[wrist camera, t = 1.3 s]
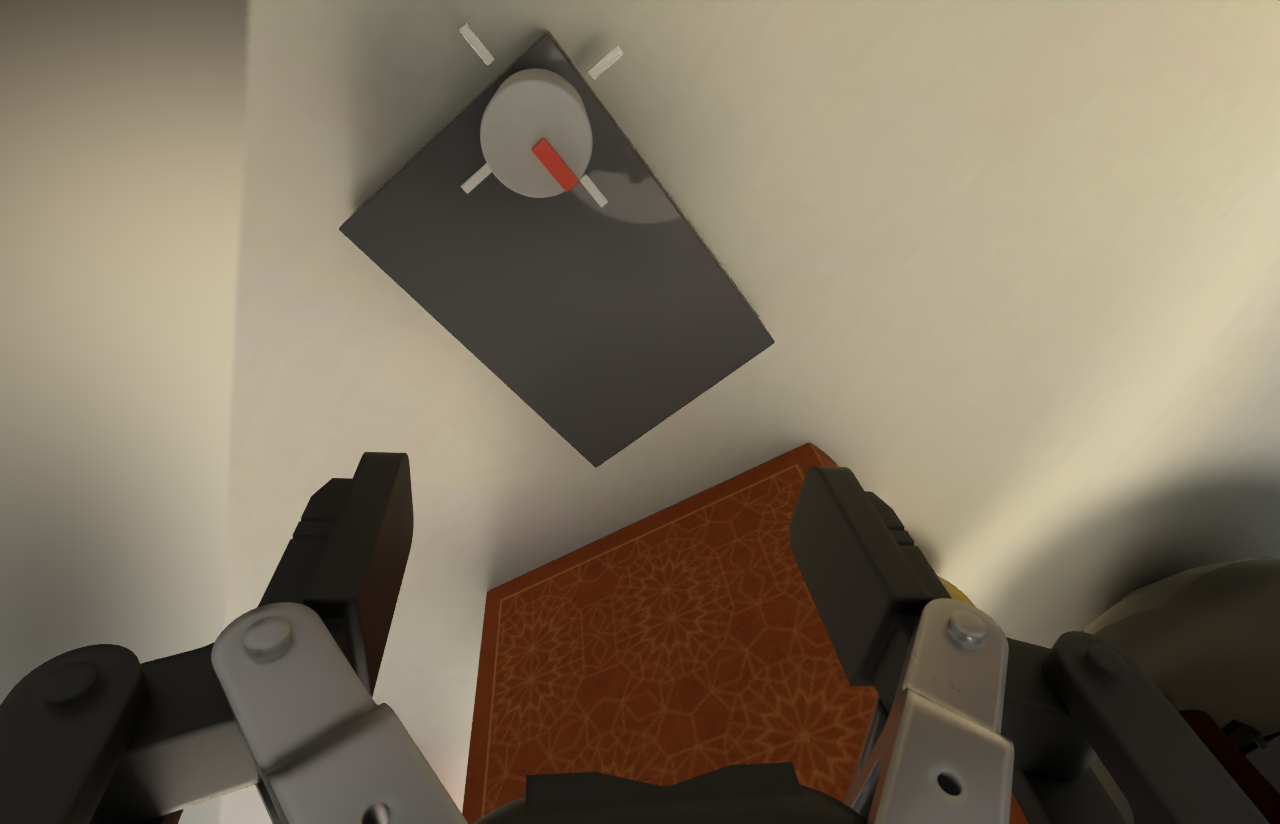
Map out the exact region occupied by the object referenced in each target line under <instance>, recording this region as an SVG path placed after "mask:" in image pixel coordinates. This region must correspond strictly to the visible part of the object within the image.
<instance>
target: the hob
mask: <svg viewBox="0 0 1280 824" xmlns="http://www.w3.org/2000/svg"><path fill="white" fill-rule="evenodd" d="M459 32H460V33H461V34H462V35H463V37H464V38H465V39H466V40H467V42H468V43H469V44H470V45H471V46H472V48H473V49H474V50H475V51H476V53H477V54H478V55H479V56H480V58H481V59H482V60H483V61H484V63H485V64H486V65H487V66H488V65H490V64H491V63H492V62H493V61H494V60H495V58H494V57H493V56H492V54H491V53H490V52H489V51H488V49H487V48H486V47H485V46H484V44H483V43H482V42H481V41H480V39H479V38H478V37H477V36H476V34H475V33H474V32H473V30H472V29H471V28H470V27H469V25H468V24H467V23H465V24H464V25H463V26H462V27H461V28H460V29H459ZM622 55H623V52H622V51H621V49H620V48H619V46H618V45H616V46H615V47H614V48H613V49H612V50H611V51H610V52H609V53H607V54H606V55H605V56H604V57H603V58H602V59H601V60H600V61H599V62H597V63H596V64H595V65H594V66H593V67H592V68H591V69H590V70H589V71H588V74H589V75H590V76H591V78H592V79H593V80H595V79H596V78H597V77H599V76H600V75H601V74H602V73H603V72H604V71H605V70H606V69H607V68H609V67H610V66H611V65H612V64H613V63H614V62H615V61H616V60H617V59H619V58H620V57H621V56H622ZM533 68H538V69H545V70H549V71H552V72H555V73H557V74H558V75H560V76H562V77H563V78H565V79H566V80H567V81H568V82H569V83H570V84H571V85H572V86H573V87H574V88H575V89H576V91H577V92H578V94H579V95H580V97H581V99H582V101H583V104H584V107H585V110H586V113H587V116H588V119H589V123H590V126H591V131H592V139H593V143H592V154H591V158H590V161H589V164H588V166H587V169H586V170H585V172H584V174H583V175H582V177H581V178H580V179H579V183H577V184H576V185H575V186H574V187H573V188H571V189H570V190H569V191H568V192H566V191H565V192H563V193H561V194H558V195H555V196H551V197H545V198H534V197H528V196H525V195H521V194H519V193H517V192H514V191H513V190H511V189H509V188H508V187H506V186H505V185H504V184H503V183H501V182H500V181H499V179H498V178H497V177H496V176H495V175H494V174H493V172H492V171H491V169H490V168H489V166H488V164H487V162H486V160H485V158H484V155H483V152H482V147H481V142H480V127H481V122H482V117H483V114H484V112H485V109H486V107H487V105H488V104H489V102H490V101H491V99H492V97H493V96H494V94H495V93H496V91H497V90H498V88H499V87H500V85H501V84H502V83H503V82H504V81H505V80H506V79H507V78H509V77H510V76H511V75H513V74H515V73H517V72H519V71H522V70H526V69H533ZM339 230H340V231H341V232H342V233H343V234H344V235H345V236H347V237H348V238H349V239H350V240H351V241H352V242H353V243H354V244H355V245H356V246H357V247H358V248H359V249H361V250H362V251H363V252H364V253H365V254H366V255H367V256H368V257H369V258H370V259H371V260H372V261H373V262H375V263H376V264H377V265H378V266H379V267H380V268H381V269H382V270H383V271H384V272H385V273H386V274H387V275H389V276H390V277H391V278H392V279H393V280H394V281H395V282H396V283H397V284H398V285H399V286H400V287H401V288H403V289H404V290H405V291H406V292H407V293H408V294H409V295H410V296H411V297H412V298H413V299H414V300H416V301H417V302H418V303H419V304H420V305H421V306H422V307H423V308H424V309H425V310H426V311H427V312H428V313H430V314H431V315H432V316H433V317H434V318H435V319H436V320H437V321H438V322H439V323H440V324H441V325H442V326H444V327H445V328H446V329H447V330H448V331H449V332H450V333H451V334H452V335H453V336H454V337H455V338H456V339H458V340H459V341H460V342H461V343H462V344H463V345H464V346H465V347H466V348H467V349H468V350H469V351H471V352H472V353H473V354H474V355H475V356H476V357H477V358H478V359H479V360H480V361H481V362H482V363H483V364H485V365H486V366H487V367H488V368H489V369H490V370H491V371H492V372H493V373H494V374H495V375H496V376H497V377H499V378H500V379H501V380H502V381H503V382H504V383H505V384H506V385H507V386H508V387H509V388H510V389H511V390H513V391H514V392H515V393H516V394H517V395H518V396H519V397H520V398H521V399H522V400H523V401H524V402H525V403H527V404H528V405H529V406H530V407H531V408H532V409H533V410H534V411H535V412H536V413H537V414H538V415H540V416H541V417H542V418H543V419H544V420H545V421H546V422H547V423H548V424H549V425H550V426H551V427H552V428H554V429H555V430H556V431H557V432H558V433H559V434H560V435H561V436H562V437H563V438H564V439H565V440H566V441H568V442H569V443H570V444H571V445H572V446H573V447H574V448H575V449H576V450H577V451H578V452H579V453H580V454H582V455H583V456H584V457H585V458H586V459H587V460H588V461H589V462H590V463H591V464H592V465H593V466H594V467H598V466H599V465H601V464H602V463H604V462H605V461H607V460H608V459H609V458H611V457H612V456H614V455H615V454H617V453H618V452H619V451H621V450H622V449H624V448H625V447H627V446H628V445H629V444H631V443H632V442H634V441H635V440H637V439H638V438H639V437H641V436H642V435H644V434H645V433H647V432H648V431H649V430H651V429H652V428H654V427H655V426H656V425H658V424H659V423H661V422H662V421H664V420H665V419H666V418H668V417H669V416H671V415H672V414H674V413H675V412H676V411H678V410H679V409H681V408H682V407H684V406H685V405H686V404H688V403H689V402H691V401H692V400H694V399H695V398H696V397H698V396H699V395H701V394H702V393H704V392H705V391H706V390H708V389H709V388H711V387H712V386H714V385H715V384H716V383H718V382H719V381H721V380H722V379H724V378H725V377H726V376H728V375H729V374H731V373H732V372H734V371H735V370H736V369H738V368H739V367H741V366H742V365H744V364H745V363H746V362H748V361H749V360H751V359H752V358H754V357H755V356H756V355H758V354H759V353H761V352H762V351H764V350H765V349H766V348H768V347H769V346H771V345H772V344H774V340H773V338H772V337H771V335H770V334H769V332H768V331H767V329H766V328H765V326H764V325H763V323H762V322H761V320H760V319H759V317H758V316H757V315H756V313H755V312H754V311H753V309H752V308H751V306H750V305H749V304H748V302H747V301H746V300H745V298H744V297H743V296H742V294H741V293H740V291H739V290H738V289H737V287H736V286H735V285H734V283H733V282H732V280H731V279H730V278H729V276H728V275H727V274H726V272H725V271H724V270H723V268H722V267H721V265H720V264H719V263H718V261H717V260H716V259H715V257H714V256H713V255H712V253H711V252H710V250H709V249H708V248H707V246H706V245H705V244H704V242H703V241H702V239H701V238H700V237H699V235H698V234H697V233H696V231H695V230H694V229H693V227H692V226H691V224H690V223H689V222H688V220H687V219H686V218H685V216H684V215H683V213H682V212H681V211H680V209H679V208H678V207H677V205H676V204H675V203H674V201H673V200H672V198H671V197H670V196H669V194H668V193H667V192H666V190H665V189H664V188H663V186H662V185H661V183H660V182H659V181H658V179H657V178H656V177H655V175H654V174H653V172H652V171H651V170H650V168H649V167H648V166H647V164H646V163H645V162H644V160H643V159H642V157H641V156H640V155H639V153H638V152H637V151H636V149H635V148H634V147H633V145H632V144H631V142H630V141H629V140H628V138H627V137H626V136H625V134H624V133H623V131H622V130H621V129H620V127H619V126H618V125H617V123H616V122H615V121H614V119H613V118H612V116H611V115H610V114H609V112H608V111H607V110H606V108H605V107H604V106H603V104H602V103H601V101H600V100H599V99H598V97H597V96H596V95H595V93H594V92H593V90H592V89H591V88H590V86H589V85H588V84H587V82H586V81H585V80H584V78H583V77H582V75H581V74H580V73H579V71H578V70H577V69H576V67H575V66H574V65H573V63H572V62H571V60H570V59H569V58H568V56H567V55H566V54H565V52H564V51H563V49H562V48H561V47H560V45H559V44H558V43H557V41H556V40H555V39H554V37H553V36H552V34H551V33H550V32H549V31H548V30H547V31H546V32H544V33H543V34H542V35H541V36H540V37H539V38H538V39H537V40H536V41H535V42H534V43H533V44H532V45H531V46H530V47H529V48H528V49H526V50H525V51H524V52H523V53H522V54H521V55H520V56H519V57H518V58H517V59H516V60H515V61H514V62H513V63H512V64H511V65H510V66H508V67H507V68H506V69H505V70H504V71H503V72H502V73H501V74H500V75H499V76H498V77H497V78H496V79H495V80H494V81H493V82H492V83H490V84H489V85H488V86H487V87H486V88H485V89H484V90H483V91H482V92H481V93H480V94H479V95H478V96H477V97H476V98H475V99H473V100H472V101H471V102H470V103H469V104H468V105H467V106H466V107H465V108H464V109H463V110H462V111H461V112H460V113H459V114H458V115H457V116H455V117H454V118H453V119H452V120H451V121H450V122H449V123H448V124H447V125H446V126H445V127H444V128H443V129H442V130H441V131H440V132H439V133H437V134H436V135H435V136H434V137H433V138H432V139H431V140H430V141H429V142H428V143H427V144H426V145H425V146H424V147H423V148H422V149H420V150H419V151H418V152H417V153H416V154H415V155H414V156H413V157H412V158H411V159H410V160H409V161H408V162H407V163H406V164H405V165H404V166H402V167H401V168H400V169H399V170H398V171H397V172H396V173H395V174H394V175H393V176H392V177H391V178H390V179H389V180H388V181H387V182H386V183H384V184H383V185H382V186H381V187H380V188H379V189H378V190H377V191H376V192H375V193H374V194H373V195H372V196H371V197H370V198H369V199H368V200H366V201H365V202H364V203H363V204H362V205H361V206H360V207H359V208H358V209H357V210H356V211H355V212H354V213H353V214H352V215H351V216H350V217H349V218H348V219H347V220H346V221H345V222H344V223H343V224H342V225H341V227H340V228H339Z"/></svg>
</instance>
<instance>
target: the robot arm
mask: <svg viewBox="0 0 1280 824" xmlns="http://www.w3.org/2000/svg"><path fill="white" fill-rule="evenodd" d="M413 522H414V519H413V504H412V492H411V479H410V467H409V459H408V455H407V454H406V453H384V452H365V453H364V454H363V455H362V458H361V460H360V462H359V465H358V467H357V470H356V472H355V474H354V477H353V479H345V478H332V479H331V480H330V481H329V482H328V483H326V484H325V485H324V486H323V487H322V488H321V489H319V490H318V491H317V492H316V493H315V494H314V495H312V496H311V498H310V500H309V503H308V505H307V507H306V509H305V511H304V513H303V515H302V517H301V522H299V523H298V525H297V527H296V529H295V531H294V533H293V539H291V540H290V542H289V544H288V546H287V548H286V550H285V552H284V554H283V556H282V558H281V560H280V562H279V564H278V566H277V568H276V571H275V573H274V575H273V577H272V579H271V581H270V583H269V585H268V587H267V589H266V591H265V593H264V595H263V597H262V599H261V601H260V604H259V605H258V607H257V608H256V609H253V610H251V611H249V612H247V613H245V614H243V615H241V616H240V617H238V618H237V619H235V620H234V621H233V622H232V623H230V624H229V625H228V626H227V627H226V628H225V629H224V630H223V631H222V632H221V634H220V635H219V636H218V638H217V640H216V642H214V643H212V644H210V645H207V646H205V647H202V648H198V649H195V650H192V651H188V652H184V653H180V654H176V655H173V656H168V657H165V658H161V659H157V660H153V661H149V662H145V663H142V664H140V663H139V660H138V658H137V656H136V655H135V654H134V653H133V652H132V651H130V650H129V649H127V648H125V647H122V646H119V645H111V644H99V645H91V646H86V647H82V648H78V649H75V650H71V651H68V652H66V653H63V654H61V655H59V656H56V657H55V658H53V659H51V660H49V661H47V662H45V663H43V664H42V665H40V666H39V667H37V668H36V669H34V670H33V671H31V672H30V673H29V674H28V675H26V676H25V677H24V678H23V679H22V680H21V681H20V682H19V683H18V684H17V685H16V686H15V687H14V688H13V689H12V690H11V692H10V693H9V694H8V696H7V697H6V698H5V700H4V701H3V703H2V704H1V705H0V824H178V822H179V819H180V817H181V814H182V812H183V809H184V808H187V807H189V806H193V805H196V804H198V803H201V802H204V801H207V800H210V799H213V798H216V797H219V796H222V795H225V794H227V793H230V792H233V791H236V790H239V789H242V788H245V787H248V786H251V785H253V784H255V785H256V787H257V789H258V792H259V794H260V796H261V798H262V801H263V803H264V805H265V807H266V810H267V812H268V814H269V816H270V819H271V821H272V823H273V824H468V823H467V821H466V819H465V818H464V816H463V815H462V813H461V812H460V810H459V809H458V807H457V806H456V804H455V803H454V801H453V800H452V798H451V797H450V795H449V794H448V792H447V791H446V789H445V788H444V786H443V785H442V783H441V782H440V780H439V779H438V777H437V775H436V774H435V772H434V771H433V769H432V768H431V766H430V765H429V763H428V762H427V760H426V759H425V757H424V756H423V754H422V753H421V751H420V750H419V748H418V747H417V745H416V744H415V742H414V741H413V739H412V738H411V736H410V735H409V733H408V731H407V730H406V728H405V727H404V725H403V724H402V722H401V721H400V719H399V718H398V716H397V715H396V714H395V712H394V711H393V710H392V709H391V708H390V707H389V706H388V705H387V704H386V703H382V704H380V705H379V706H378V705H377V704H376V703H375V702H374V701H373V699H372V696H373V692H374V688H375V684H376V681H377V677H378V673H379V669H380V665H381V661H382V657H383V653H384V649H385V646H386V642H387V638H388V634H389V630H390V626H391V622H392V618H393V615H394V611H395V607H396V603H397V599H398V595H399V591H400V587H401V584H402V580H403V576H404V572H405V568H406V564H407V560H408V556H409V552H410V548H411V544H412V537H413ZM789 540H790V547H791V550H792V553H793V555H794V558H795V560H796V562H797V564H798V567H799V569H800V571H801V574H802V576H803V578H804V580H805V583H806V585H807V587H808V590H809V592H810V594H811V596H812V599H813V601H814V603H815V606H816V608H817V610H818V613H819V615H820V617H821V619H822V622H823V624H824V626H825V629H826V631H827V633H828V635H829V638H830V640H831V642H832V645H833V647H834V649H835V651H836V654H837V656H838V658H839V661H840V663H841V665H842V667H843V670H844V672H845V674H846V677H847V679H848V681H849V683H850V686H851V687H852V686H875V688H876V690H877V693H878V695H879V697H878V699H877V701H876V703H875V705H874V707H873V711H872V714H871V717H870V721H869V724H868V727H867V730H866V734H865V737H864V740H863V744H862V747H861V750H860V754H859V757H858V760H857V763H856V767H855V770H854V773H853V777H852V780H851V783H850V786H849V789H848V792H847V794H846V797H845V799H844V802H843V803H842V802H841V801H839V800H838V799H836V798H834V797H832V796H830V795H828V794H826V793H823V792H821V791H819V790H816V789H813V788H810V787H807V786H804V785H800V784H799V782H798V779H797V775H796V772H795V769H794V766H793V763H792V762H782V763H761V764H741V765H729V766H726V767H723V768H720V769H717V770H714V771H712V772H709V773H706V774H703V775H700V776H697V777H694V778H692V779H689V780H686V781H683V782H680V783H677V784H674V785H670V786H659V785H654V784H650V783H645V782H640V781H636V780H631V779H627V778H622V777H617V776H613V775H608V774H604V773H599V772H578V773H558V774H537V775H526V791H525V797H523V798H520V799H517V800H514V801H512V802H509V803H507V804H505V805H503V806H501V807H499V808H497V809H495V810H493V811H491V812H490V813H488V814H487V815H485V816H483V817H482V818H480V819H479V820H477V821H476V822H475V823H474V824H1009V818H1010V804H1011V791H1012V793H1013V795H1014V797H1015V799H1016V801H1017V802H1018V804H1019V806H1020V808H1021V810H1022V812H1023V814H1024V816H1025V818H1026V820H1027V821H1028V823H1029V824H1127V822H1126V821H1125V819H1124V817H1123V816H1122V814H1121V813H1120V811H1119V810H1118V808H1117V807H1116V805H1115V804H1114V802H1113V800H1112V799H1111V797H1110V796H1109V794H1108V793H1107V791H1106V790H1105V788H1104V787H1103V785H1102V784H1101V782H1100V780H1099V779H1098V777H1097V776H1096V774H1095V773H1094V771H1093V770H1092V768H1091V767H1090V765H1091V764H1092V763H1093V762H1094V761H1095V760H1096V759H1097V757H1099V759H1100V760H1101V762H1102V763H1103V765H1104V766H1105V768H1106V769H1107V771H1108V772H1109V774H1110V775H1111V777H1112V778H1113V780H1114V781H1115V783H1116V784H1117V786H1118V787H1119V789H1120V790H1121V792H1122V793H1123V795H1124V796H1125V798H1126V799H1127V801H1128V803H1129V805H1130V807H1131V810H1132V813H1133V817H1134V824H1270V823H1269V822H1268V821H1267V819H1266V818H1265V817H1264V816H1263V815H1262V813H1261V812H1260V811H1259V810H1258V809H1257V807H1256V806H1255V805H1254V804H1253V802H1252V801H1251V800H1250V799H1249V798H1248V796H1247V795H1246V794H1245V793H1244V792H1243V790H1242V789H1241V788H1240V787H1239V785H1238V784H1237V783H1236V782H1235V781H1234V779H1233V778H1232V777H1231V776H1230V775H1229V773H1228V772H1227V771H1226V770H1225V768H1224V767H1223V766H1222V765H1221V764H1220V762H1219V761H1218V760H1217V759H1216V758H1215V756H1214V755H1213V754H1212V753H1211V751H1210V750H1209V749H1208V748H1207V747H1206V745H1205V744H1204V743H1203V742H1202V741H1201V739H1200V738H1199V737H1198V736H1197V734H1196V733H1195V732H1194V731H1193V730H1192V728H1191V727H1190V726H1189V725H1188V724H1187V722H1186V721H1185V720H1184V719H1183V717H1182V716H1181V715H1180V714H1179V713H1178V711H1177V710H1176V709H1175V708H1174V707H1173V705H1172V704H1171V703H1170V702H1169V700H1168V699H1167V698H1166V697H1165V696H1164V694H1163V693H1162V692H1161V691H1160V690H1159V688H1158V687H1157V686H1156V685H1155V683H1154V682H1153V681H1152V680H1151V679H1150V677H1149V676H1148V675H1147V674H1146V673H1145V671H1144V670H1143V669H1142V668H1141V667H1140V665H1139V664H1138V663H1137V662H1136V661H1135V660H1134V659H1133V658H1132V657H1131V656H1129V655H1128V654H1127V653H1126V652H1124V651H1123V650H1122V649H1120V648H1119V647H1117V646H1116V645H1114V644H1112V643H1111V642H1109V641H1107V640H1105V639H1103V638H1101V637H1098V636H1095V635H1093V634H1089V633H1085V632H1078V631H1072V632H1067V633H1064V634H1062V635H1061V636H1060V637H1059V638H1058V640H1057V641H1056V643H1055V644H1054V645H1053V647H1052V648H1051V649H1049V648H1045V647H1041V646H1037V645H1033V644H1029V643H1025V642H1021V641H1018V640H1014V639H1010V638H1007V637H1006V636H1005V634H1004V633H1003V631H1002V630H1001V628H1000V627H999V626H998V625H997V624H996V622H995V621H993V620H992V619H991V618H990V617H989V616H988V615H986V614H985V613H984V612H982V611H981V610H979V609H977V608H976V607H974V606H972V605H970V604H967V603H965V602H962V601H959V600H955V599H952V597H951V596H950V594H949V593H948V591H947V590H946V588H945V587H944V585H943V584H942V582H941V581H940V579H939V578H938V576H937V575H936V573H935V572H934V570H933V569H932V568H931V566H930V565H929V563H928V562H927V560H926V559H925V557H924V556H923V554H922V553H921V551H920V550H919V548H918V547H917V546H915V545H914V543H915V542H914V541H913V539H912V538H911V536H910V535H909V533H908V532H907V531H904V526H903V524H902V523H901V521H900V520H899V518H898V517H897V515H896V514H895V512H894V511H893V509H892V508H891V507H889V506H888V505H887V504H886V503H885V502H883V501H882V500H881V499H880V498H879V497H877V496H876V495H875V494H874V493H872V492H865V491H864V490H863V488H862V487H861V485H860V483H859V482H858V480H857V479H856V477H855V476H854V474H853V473H852V471H851V470H850V469H849V468H847V467H818V466H812V467H810V468H809V469H808V471H807V473H806V475H805V478H804V481H803V484H802V487H801V490H800V494H799V497H798V500H797V503H796V506H795V509H794V512H793V515H792V518H791V522H790V527H789Z"/></svg>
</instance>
